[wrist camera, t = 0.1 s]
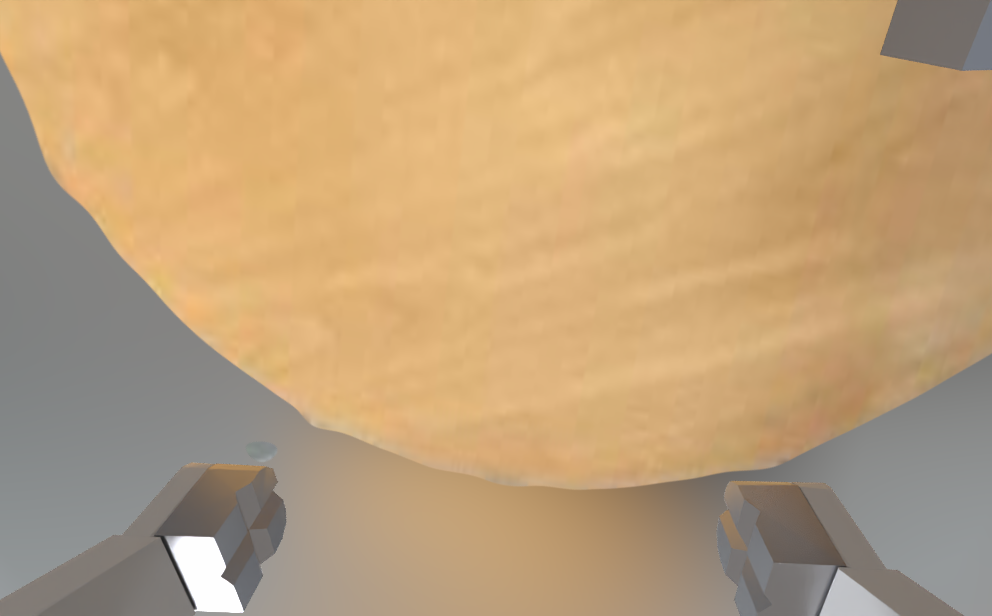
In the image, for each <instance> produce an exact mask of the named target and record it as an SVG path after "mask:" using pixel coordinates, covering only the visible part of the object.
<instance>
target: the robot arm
mask: <svg viewBox="0 0 992 616" xmlns="http://www.w3.org/2000/svg"><path fill="white" fill-rule="evenodd" d="M277 483H278V481H277V479H276V476H275V473H274V470H273V469H272V468H269V467H265V466H248V465H231V464H204V463H190V464H188V465H185V466H183V467H182V468H181V469H180V470H179V471H178V472H177V473H176V474H175V475H174V477H173V478H172V479H171V480H170V481H169V482H168V483H167V485H166V486H165V487H164V488H163V489H162V490H161V491H160V493H159V494H158V495H157V496H156V497H155V498H154V499H153V500H152V502H151V503H150V504H149V505H148V506H147V507H146V509H145V510H144V511H143V512H142V513H141V514H140V515H139V516H138V518H137V519H136V520H135V521H134V522H133V523H132V524H131V526H130V527H129V528H128V529H127V530H126V531H125V532H124V534H123V535H113V536H111V537H109V538H107V539H106V540H104V541H102V542H100V543H99V544H97V545H95V546H94V547H92V548H90V549H88V550H86V551H85V552H83V553H82V554H79V555H78V556H76V557H74V558H72V559H71V560H69V561H67V562H65V563H64V564H62V565H60V566H58V567H57V568H55V569H53V570H52V571H50V572H48V573H46V574H45V575H43V576H41V577H39V578H37V579H36V580H34V581H32V582H30V583H29V584H27V585H25V586H24V587H22V588H20V589H18V590H17V591H15V592H13V593H11V594H10V595H8V596H6V597H4V598H3V599H1V600H0V616H194V615H195V611H224V612H226V611H227V612H244V610H245V608H246V606H247V604H248V603H249V601H250V599H251V597H252V595H253V593H254V591H255V590H256V588H257V586H258V584H259V582H260V580H261V578H262V576H263V574H262V569H261V563H263V562H264V561H265V560H267V559H268V558H269V557H271V556H272V555H273V554H275V552H276V550H277V548H278V546H279V544H280V542H281V540H282V537H283V533H284V529H285V525H286V508H285V505H284V501H283V499H281V498H280V497H279V496H278V495H277V494H276V493H275V492H273V489H274V488H275V486H276V484H277ZM724 500H725V502H726V505H727V507H728V510H727V511H725V512H724V513H723V514H722V515H720V516H719V521H718V527H717V545H718V546H717V547H718V552H719V556H720V560H721V563H722V566H723V569H724V572H725V574H726V575H727V576H728V577H729V578H730V579H731V580H732V581H733V582H734V583H735V584H737V586H738V588H737V592H736V596H735V603H736V606H737V608H738V611H739V614H740V616H964V615H962V614H961V613H959V612H958V611H956V610H955V609H953V608H952V607H951V606H949V605H947V604H946V603H945V602H943V601H942V600H940V599H939V598H937V597H936V596H934V595H933V594H932V593H930V592H929V591H927V590H926V589H924V588H923V587H921V586H920V585H919V584H917V583H916V582H914V581H913V580H911V579H910V578H908V577H907V576H905V575H904V574H902V573H901V572H900V571H898V570H889V569H886V567H885V566H884V564H883V563H882V561H881V560H880V559H879V557H878V556H877V554H876V553H875V551H874V550H873V548H872V547H871V545H870V544H869V542H868V541H867V540H866V538H865V537H864V535H863V534H862V532H861V531H860V529H859V528H858V527H857V525H856V524H855V522H854V521H853V519H852V518H851V516H850V515H849V513H848V512H847V510H846V509H845V508H844V506H843V505H842V503H841V502H840V500H839V499H838V497H837V496H836V494H835V493H834V492H833V490H832V489H831V488H830V487H829V486H828V485H826V484H825V483H801V482H800V483H799V482H797V483H796V482H792V483H788V482H752V481H730V482H729V484H728V485H727V487H726V490H725V494H724Z"/></svg>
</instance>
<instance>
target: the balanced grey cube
mask: <svg viewBox="0 0 992 616" xmlns="http://www.w3.org/2000/svg"><path fill="white" fill-rule="evenodd" d="M880 55H884V56H889V57H894V58H899V59H904V60H909V61H915V62H920V63H925V64H930V65H935V66H940V67H946V68H951V69H956V70H961V71H966V70H992V0H898V2H897V5H896V8H895V11H894V14H893V17H892V20H891V23H890V26H889V29H888V32H887V35H886V38H885V41H884V44H883V47H882V50H881V54H880Z"/></svg>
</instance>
